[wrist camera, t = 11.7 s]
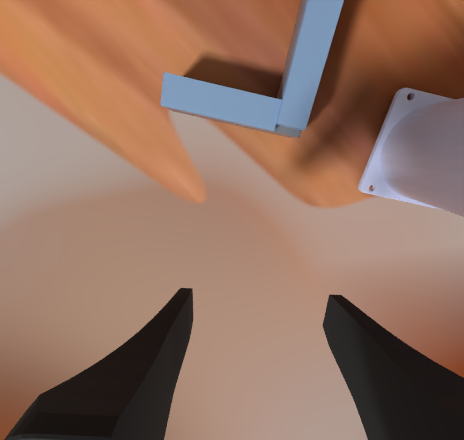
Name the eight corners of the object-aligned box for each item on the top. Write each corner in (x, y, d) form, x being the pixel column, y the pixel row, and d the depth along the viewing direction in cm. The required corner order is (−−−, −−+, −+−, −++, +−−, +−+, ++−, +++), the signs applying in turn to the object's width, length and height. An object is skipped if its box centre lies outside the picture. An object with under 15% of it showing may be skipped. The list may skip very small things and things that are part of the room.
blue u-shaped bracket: (372, -114, 12) (384, -135, 11) (299, 137, 16) (303, 137, 16) (189, -166, 12) (185, -193, 11) (163, 106, 16) (158, 104, 15)
